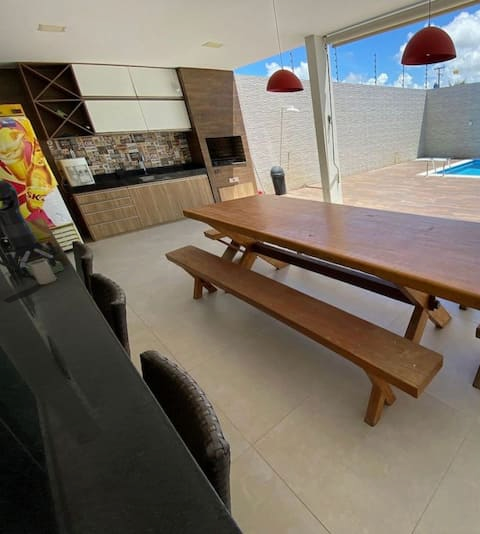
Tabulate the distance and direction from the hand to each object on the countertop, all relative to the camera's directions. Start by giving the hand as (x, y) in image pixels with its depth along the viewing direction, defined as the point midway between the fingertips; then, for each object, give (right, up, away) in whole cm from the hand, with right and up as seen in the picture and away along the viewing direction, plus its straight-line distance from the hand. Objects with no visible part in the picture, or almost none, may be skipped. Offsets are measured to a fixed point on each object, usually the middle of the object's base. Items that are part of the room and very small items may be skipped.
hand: (41, 270), depth 127 cm
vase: (-28, +3, +24) cm, 37 cm away
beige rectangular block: (0, -5, +2) cm, 5 cm away
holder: (-11, -1, +12) cm, 17 cm away
